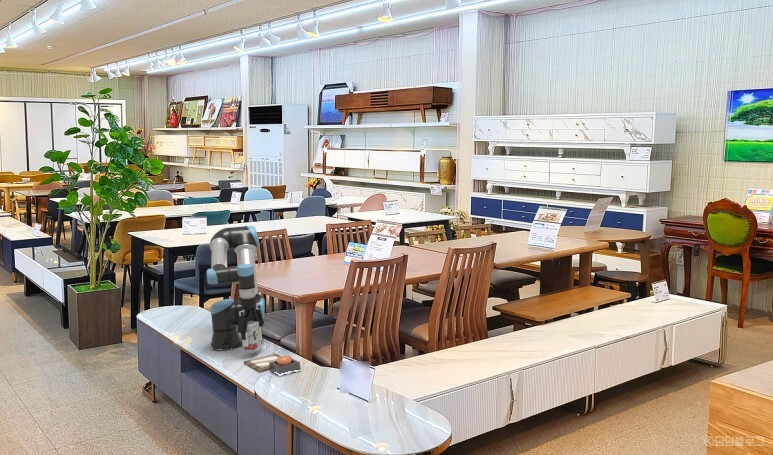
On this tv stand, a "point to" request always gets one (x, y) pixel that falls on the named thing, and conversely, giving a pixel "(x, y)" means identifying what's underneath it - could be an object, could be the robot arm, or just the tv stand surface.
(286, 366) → the button housing
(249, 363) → the wooden picture frame
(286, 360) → the button cap
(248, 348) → the ink box
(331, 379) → the tv stand surface
